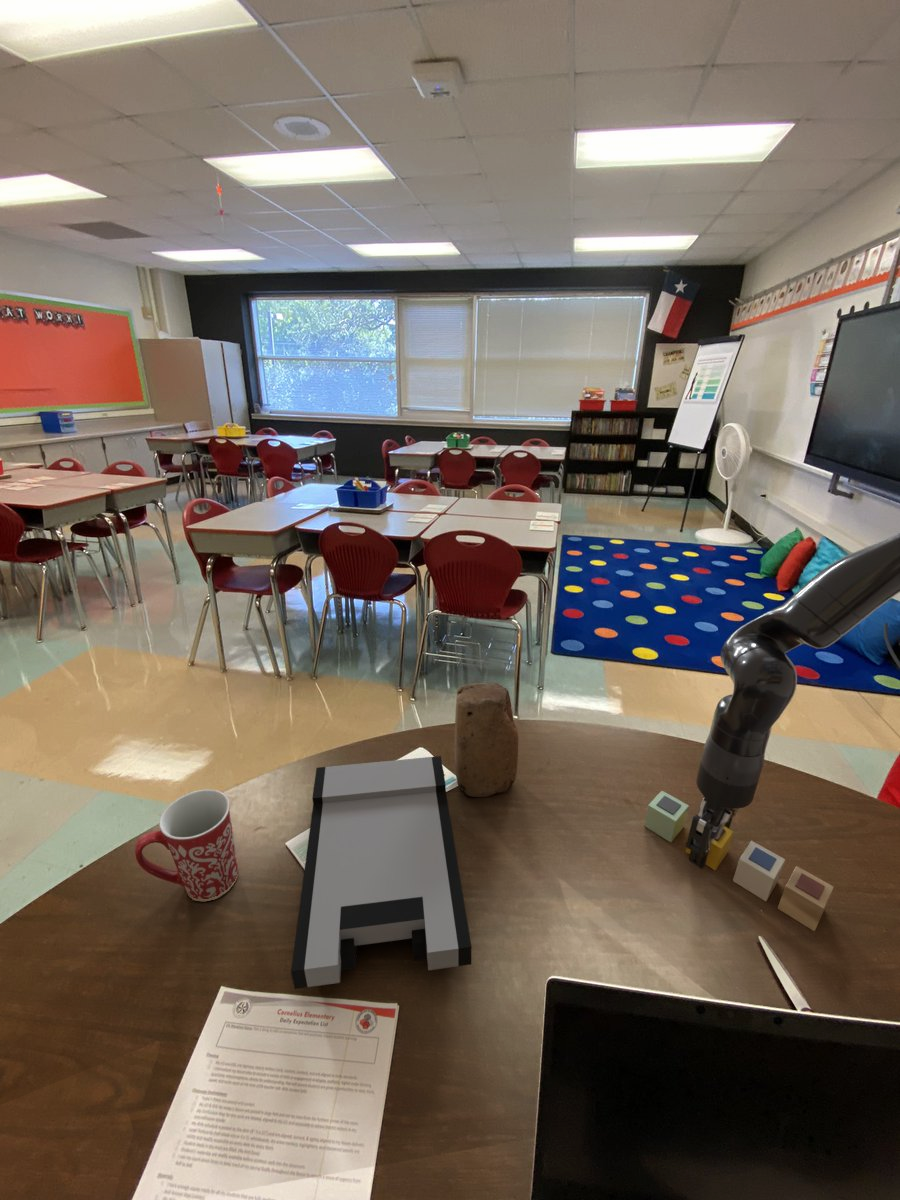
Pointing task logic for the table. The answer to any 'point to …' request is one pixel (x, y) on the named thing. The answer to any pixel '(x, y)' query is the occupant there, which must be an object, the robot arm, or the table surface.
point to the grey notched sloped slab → (379, 870)
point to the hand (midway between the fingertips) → (708, 847)
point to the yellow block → (718, 848)
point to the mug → (195, 844)
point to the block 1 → (485, 740)
